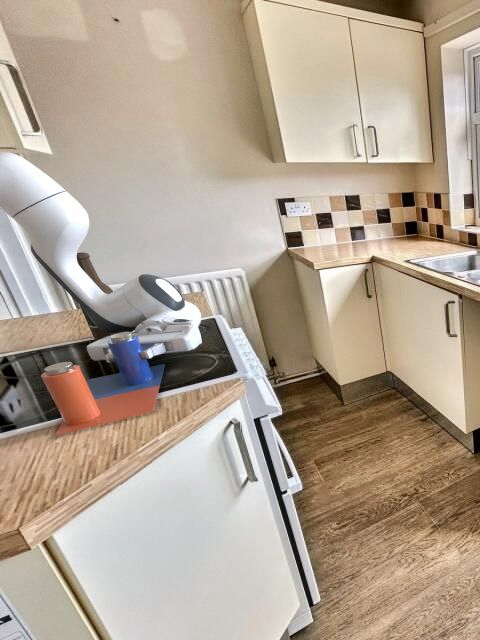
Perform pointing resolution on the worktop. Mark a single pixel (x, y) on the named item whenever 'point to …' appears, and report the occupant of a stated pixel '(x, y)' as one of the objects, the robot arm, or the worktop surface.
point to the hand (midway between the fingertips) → (127, 357)
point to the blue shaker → (130, 358)
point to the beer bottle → (90, 271)
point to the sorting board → (119, 399)
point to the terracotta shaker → (70, 393)
